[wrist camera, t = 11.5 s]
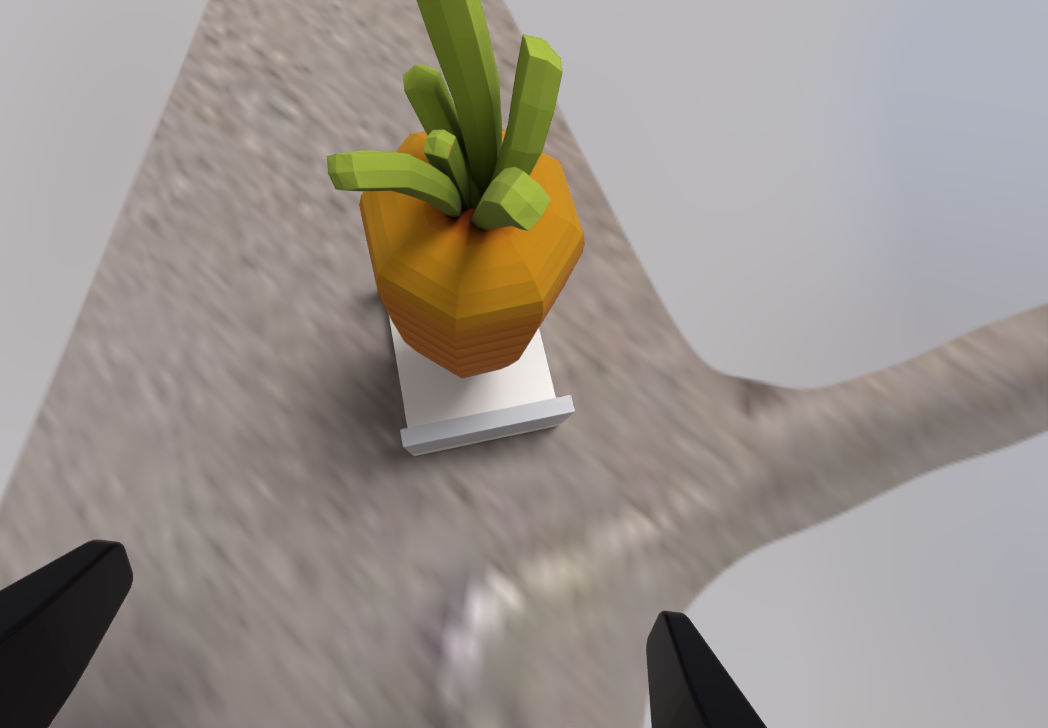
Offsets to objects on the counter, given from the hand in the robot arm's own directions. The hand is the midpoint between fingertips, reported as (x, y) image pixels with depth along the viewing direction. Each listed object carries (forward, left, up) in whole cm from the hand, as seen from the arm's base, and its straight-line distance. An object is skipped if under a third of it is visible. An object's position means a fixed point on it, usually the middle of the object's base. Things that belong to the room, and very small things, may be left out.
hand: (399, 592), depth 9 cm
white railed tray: (+7, -3, -11) cm, 14 cm away
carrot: (+7, -3, -11) cm, 13 cm away
